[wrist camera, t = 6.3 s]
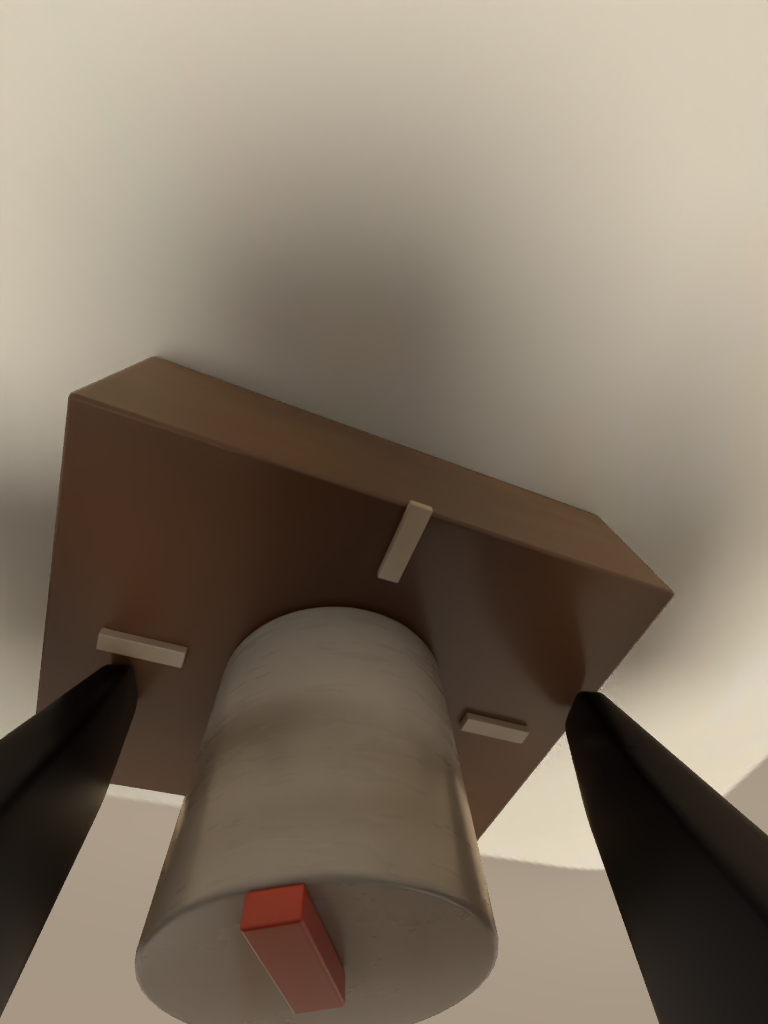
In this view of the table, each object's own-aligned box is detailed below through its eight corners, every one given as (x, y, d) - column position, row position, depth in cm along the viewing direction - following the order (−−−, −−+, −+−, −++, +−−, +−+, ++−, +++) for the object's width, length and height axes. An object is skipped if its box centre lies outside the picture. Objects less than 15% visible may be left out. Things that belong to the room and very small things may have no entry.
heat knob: (450, 742, 10) (514, 1050, 6) (259, 774, 10) (200, 1098, 6) (426, 586, 8) (497, 886, 4) (191, 626, 8) (43, 958, 4)
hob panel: (99, 663, 12) (23, 782, 9) (153, 349, 9) (61, 387, 6) (450, 739, 14) (475, 854, 11) (601, 511, 11) (687, 595, 8)
